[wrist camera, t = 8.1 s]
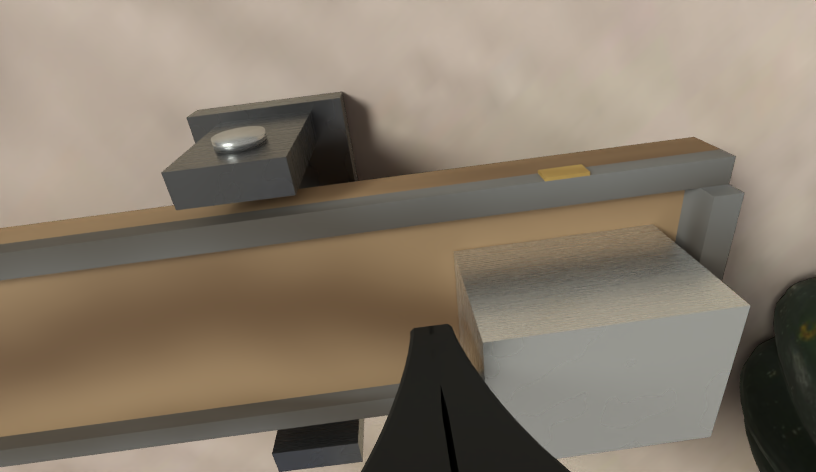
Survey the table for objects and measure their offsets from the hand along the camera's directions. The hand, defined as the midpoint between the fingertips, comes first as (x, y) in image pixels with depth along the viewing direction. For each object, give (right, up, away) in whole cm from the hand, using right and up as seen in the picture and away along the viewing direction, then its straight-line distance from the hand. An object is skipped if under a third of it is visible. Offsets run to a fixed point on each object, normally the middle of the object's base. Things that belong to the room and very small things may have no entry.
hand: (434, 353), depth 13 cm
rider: (+4, +1, +2) cm, 5 cm away
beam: (-5, +1, +2) cm, 5 cm away
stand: (-5, +3, +6) cm, 8 cm away
